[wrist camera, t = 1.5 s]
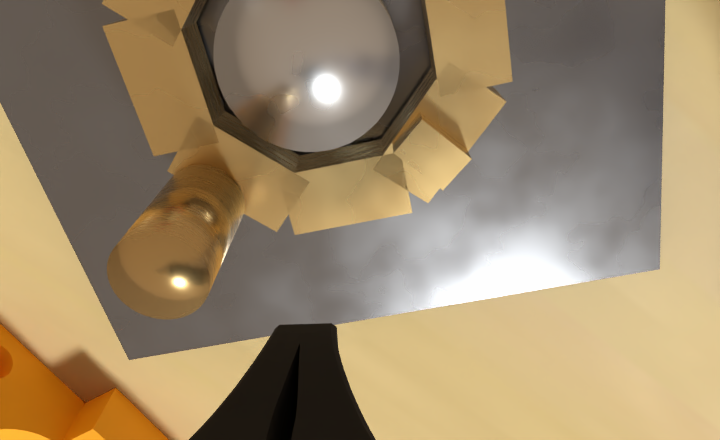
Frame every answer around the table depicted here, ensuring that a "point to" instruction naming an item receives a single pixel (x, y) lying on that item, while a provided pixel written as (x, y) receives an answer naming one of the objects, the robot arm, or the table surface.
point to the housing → (349, 127)
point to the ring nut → (276, 164)
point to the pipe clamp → (59, 404)
